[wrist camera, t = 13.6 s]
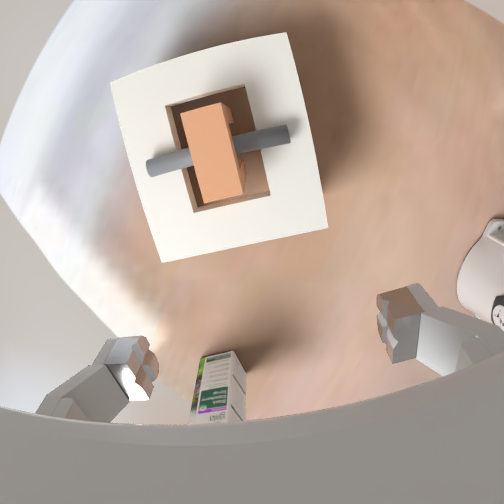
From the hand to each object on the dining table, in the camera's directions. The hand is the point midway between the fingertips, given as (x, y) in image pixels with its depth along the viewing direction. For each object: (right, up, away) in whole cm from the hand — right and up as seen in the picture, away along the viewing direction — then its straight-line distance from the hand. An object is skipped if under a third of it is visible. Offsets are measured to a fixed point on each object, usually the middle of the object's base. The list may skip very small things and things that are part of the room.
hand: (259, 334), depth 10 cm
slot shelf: (-3, +15, +24) cm, 29 cm away
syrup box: (-5, -15, +38) cm, 41 cm away
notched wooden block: (-3, +14, +20) cm, 25 cm away
